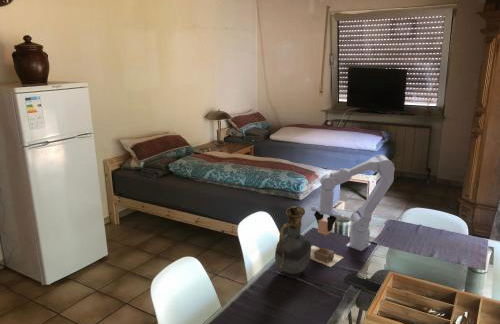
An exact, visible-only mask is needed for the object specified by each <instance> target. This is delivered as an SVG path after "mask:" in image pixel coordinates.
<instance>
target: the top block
mask: <svg viewBox="0 0 500 324" xmlns="http://www.w3.org/2000/svg"><path fill="white" fill-rule="evenodd" d="M327 218H328V217H327ZM327 218H326V217H324V216H323V218H322V219H320V220H318V223H317V233H320V234H321V235H324V236H327V235H329V234H330V233H332V230H331V231H328V220H327Z"/></svg>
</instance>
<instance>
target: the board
mask: <svg viewBox="0 0 500 324" xmlns="http://www.w3.org/2000/svg"><path fill="white" fill-rule="evenodd" d="M320 248H321V247H318V246H315V245H311V255H310V260H312V261H315V262H317V263H320V264H322V265H325V266H327V267H330V268H332V267H333V266H334V265H336V264H337V263H338V262H340V261H341V260H342V259H344V256H342V255H339V254H338V253H337V254H336V253H334V258H333V259H331V260H330V261H329V262H327V263H325V262H323V261H320V260H318V259H315V258H314V257H315V252H316V251H317V250H319V249H320Z"/></svg>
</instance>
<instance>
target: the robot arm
mask: <svg viewBox="0 0 500 324" xmlns="http://www.w3.org/2000/svg"><path fill="white" fill-rule="evenodd" d="M395 170H396V167H395V166H394V163H393V162H392V160H390V159H389V158H387V156H386V155H385V154H378V155H376V156H372V157H371V158H369V159H368V160H365V161H363V162H361V163H359V164H357V165H356V166H352V167H351V168H345V167H344V168H342V167H341V168H339V170H337V171H335V172H333V173H332V172H330V173H329V174H324V175H322V177H321V178H320V180H319V181H320V184H321V188H320V196H319V197H320V201H319V206H317V205H312V206H311V211H312V212H315V213H313V215H314V218H315V220H316V223H317V224H318V220H320V219H322V218H323V217H324V215H326V216H328V217H327V220H328V231H331V232H332V231H333V230H332V229H333V226H334V224H335V222H336V220H340V219H342V213H339V212H337V211H336V210H334V209H333V205H334V193H335V192H334V190H335V188H336V186H339V185H341V184H344V183H346V182H348V181H350V180H351V179H352V177H353V176H357V175H359V174H362V173H364V172H365V173H366V172H368V171H372V172H376V173H378V175H379V180H378V181H377V182H376V184H375V185H374V187H373V189H372V190H371V192H370V194H369V195H368V197H367V198H366V199H365V201H364V203H363V204H362V206H360V207H358V208H357V210H356V211H354V212H353V213H352V214H351V215H350V220H351V222H352V223H351V226H350V235H349V237H350V238H349V242H348V243H347V244H346V246H347V247H350V248H352V249H355V250H357V251H360V252H361V251H364V250H366V249H367V248H368V247H370V246H371V242H370V235H371V231H370V230H371V229H370V228H369V226H370V222H371V221H372V214H373V213H374V212H375V210H376V208H377V206H378V205H379V204H380V202H381V201H382V199H383V198H384V196H385V194H386V193H387V192H388V190H389V188H390V187H391V185H393V183H394V181H395V180H394V179H395Z"/></svg>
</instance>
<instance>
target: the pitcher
mask: <svg viewBox="0 0 500 324" xmlns="http://www.w3.org/2000/svg"><path fill="white" fill-rule="evenodd" d="M285 214H286V216H287V222H286V223H284V224H283V226H282V227H281V229H280V232H279V236H278V238H279V240H278V242H277V244H276V247H275V251H274V252H275V255H274V259H275V260H274V261H275V263H276V266H277V267H278V268H280V269H279V270H280V271H281V270H282V271H283V275H284V276H285V277H286V278H291V279H296V278H298V277H299V276H301V274H302V273H303V271H304V270H305V269H306V268H307V266H308V264H309V263H310V260H311V259H310V255H311V246H312V244H311V241H310V240H309V239H308V237H306V236H305V235H304V234H301V228H302V219H303V216H305V214H306V210H305V208H304V207H303V206H302V207H301V206H299V205H298V206H297V205H295V206H293V205H292V206H290V207H289V208H287V209H286V211H285ZM286 229H287V233H285V231H286ZM284 233H285V234H284Z"/></svg>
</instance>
